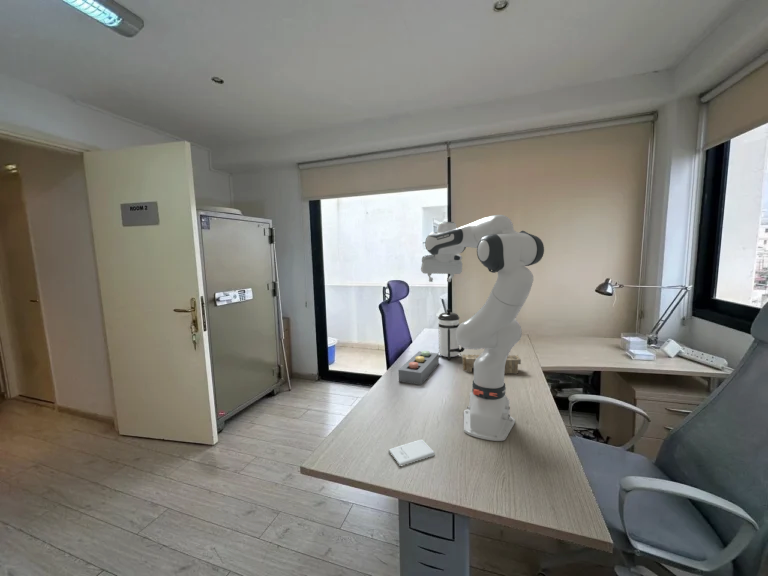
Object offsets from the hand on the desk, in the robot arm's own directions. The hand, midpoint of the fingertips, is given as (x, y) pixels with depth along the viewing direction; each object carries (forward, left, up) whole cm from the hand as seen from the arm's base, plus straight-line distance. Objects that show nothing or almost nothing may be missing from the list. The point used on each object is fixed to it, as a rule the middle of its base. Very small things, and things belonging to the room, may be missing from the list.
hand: (439, 281), depth 156 cm
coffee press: (+34, +3, -50) cm, 60 cm away
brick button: (-6, +13, -44) cm, 46 cm away
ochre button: (+4, +13, -44) cm, 46 cm away
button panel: (+4, +13, -50) cm, 52 cm away
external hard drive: (-64, -7, -51) cm, 82 cm away
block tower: (+19, -22, -50) cm, 58 cm away
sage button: (+14, +13, -44) cm, 48 cm away
